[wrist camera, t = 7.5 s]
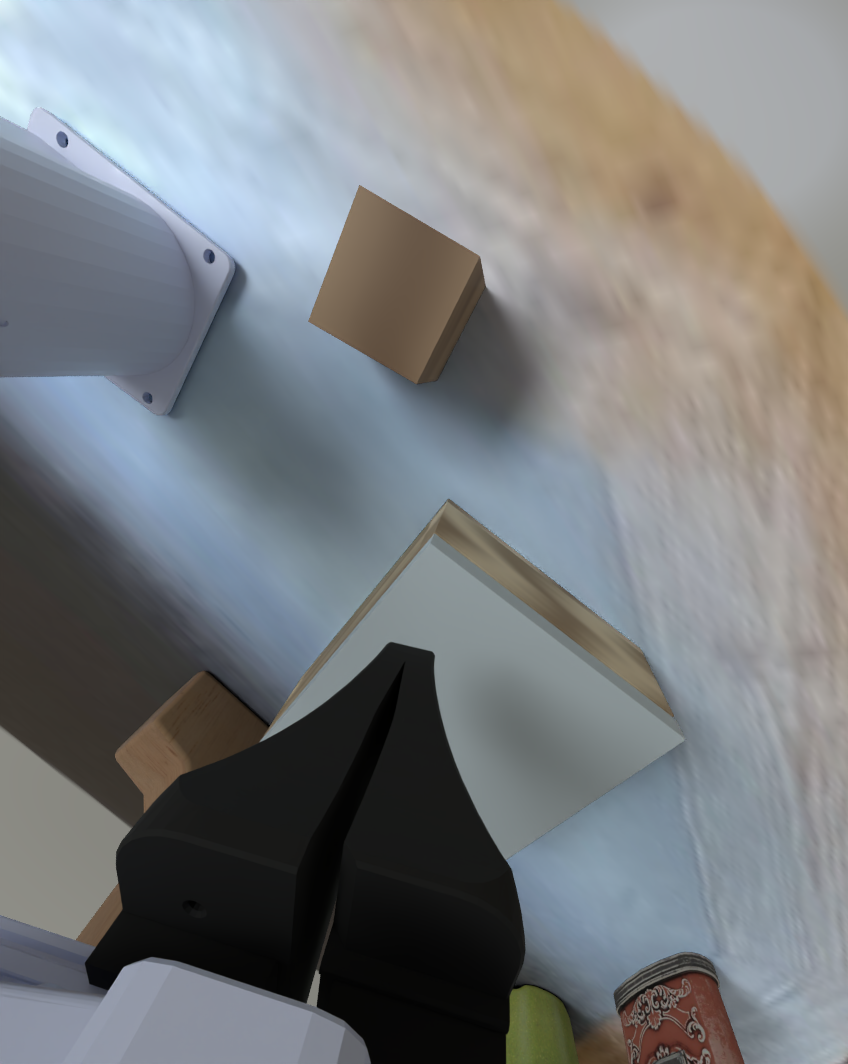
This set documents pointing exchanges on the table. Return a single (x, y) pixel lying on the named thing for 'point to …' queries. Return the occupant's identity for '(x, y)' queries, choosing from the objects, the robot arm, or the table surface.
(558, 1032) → the plant pot
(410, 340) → the small brown block
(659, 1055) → the lighter
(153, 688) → the table surface
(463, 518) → the brown piece
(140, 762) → the wooden block
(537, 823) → the toolbox lid
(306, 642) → the table surface
